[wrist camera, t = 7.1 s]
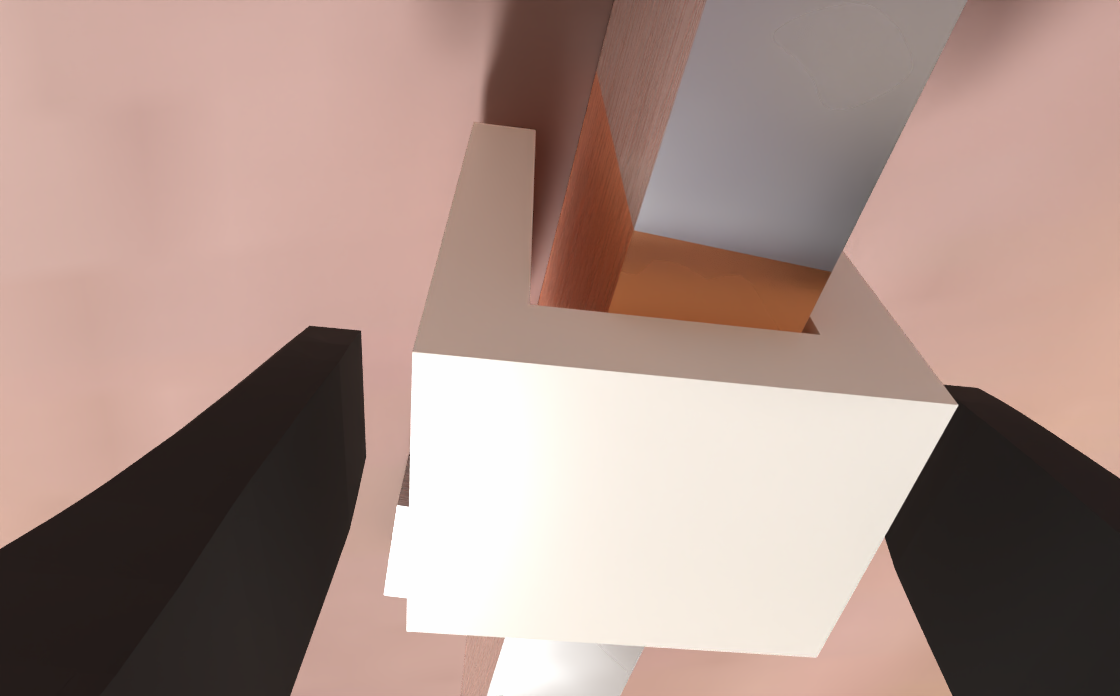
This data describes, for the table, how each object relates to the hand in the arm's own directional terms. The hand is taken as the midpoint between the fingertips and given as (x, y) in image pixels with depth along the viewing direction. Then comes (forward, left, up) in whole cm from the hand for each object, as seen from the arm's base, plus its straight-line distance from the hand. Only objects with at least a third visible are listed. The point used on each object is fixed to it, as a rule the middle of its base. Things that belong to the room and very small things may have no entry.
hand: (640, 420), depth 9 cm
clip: (0, 0, -5) cm, 5 cm away
